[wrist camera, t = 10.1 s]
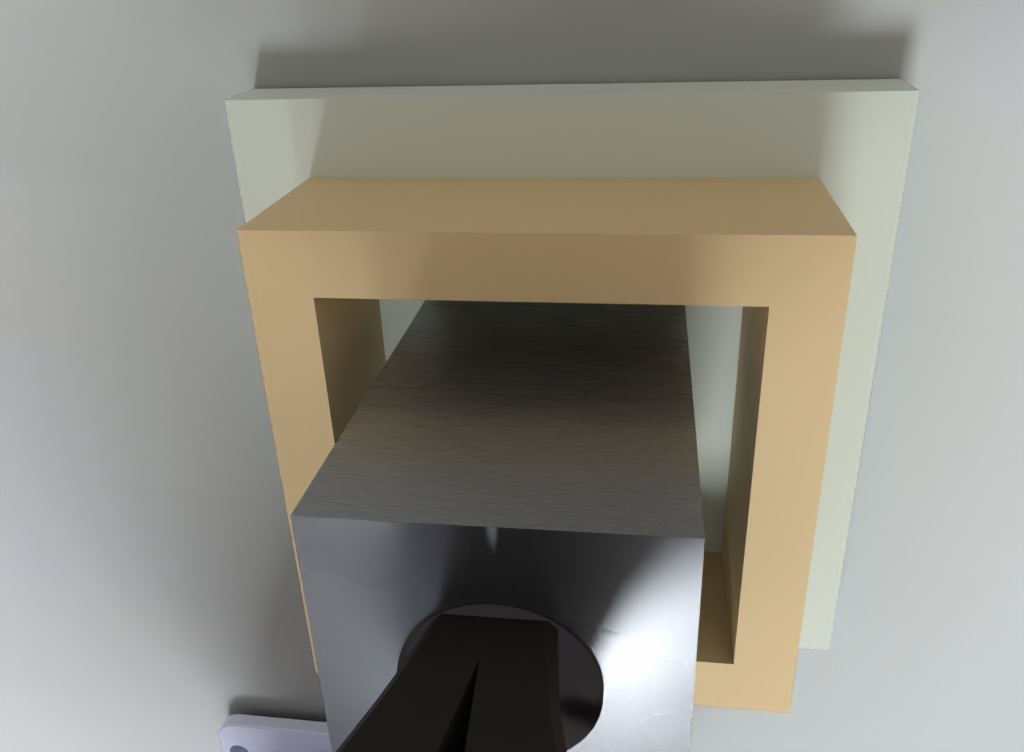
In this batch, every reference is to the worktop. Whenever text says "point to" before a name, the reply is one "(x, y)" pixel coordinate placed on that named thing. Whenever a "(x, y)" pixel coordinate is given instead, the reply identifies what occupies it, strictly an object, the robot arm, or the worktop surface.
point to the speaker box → (519, 511)
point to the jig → (606, 287)
